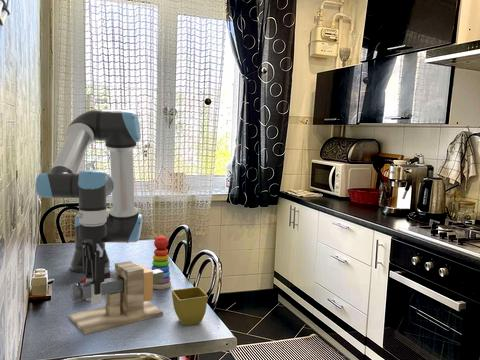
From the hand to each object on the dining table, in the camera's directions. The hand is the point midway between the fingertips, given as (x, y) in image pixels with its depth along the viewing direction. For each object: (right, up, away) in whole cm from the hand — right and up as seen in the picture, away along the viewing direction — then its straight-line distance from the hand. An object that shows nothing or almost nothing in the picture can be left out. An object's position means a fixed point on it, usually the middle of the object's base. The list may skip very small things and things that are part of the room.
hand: (93, 301), depth 131 cm
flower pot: (+28, -7, +2) cm, 29 cm away
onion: (-9, -4, +18) cm, 20 cm away
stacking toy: (+14, -3, +32) cm, 35 cm away
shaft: (+6, +2, +5) cm, 8 cm away
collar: (+12, +4, +9) cm, 16 cm away
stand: (+5, -6, +5) cm, 9 cm away
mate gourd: (-7, -3, +28) cm, 29 cm away
